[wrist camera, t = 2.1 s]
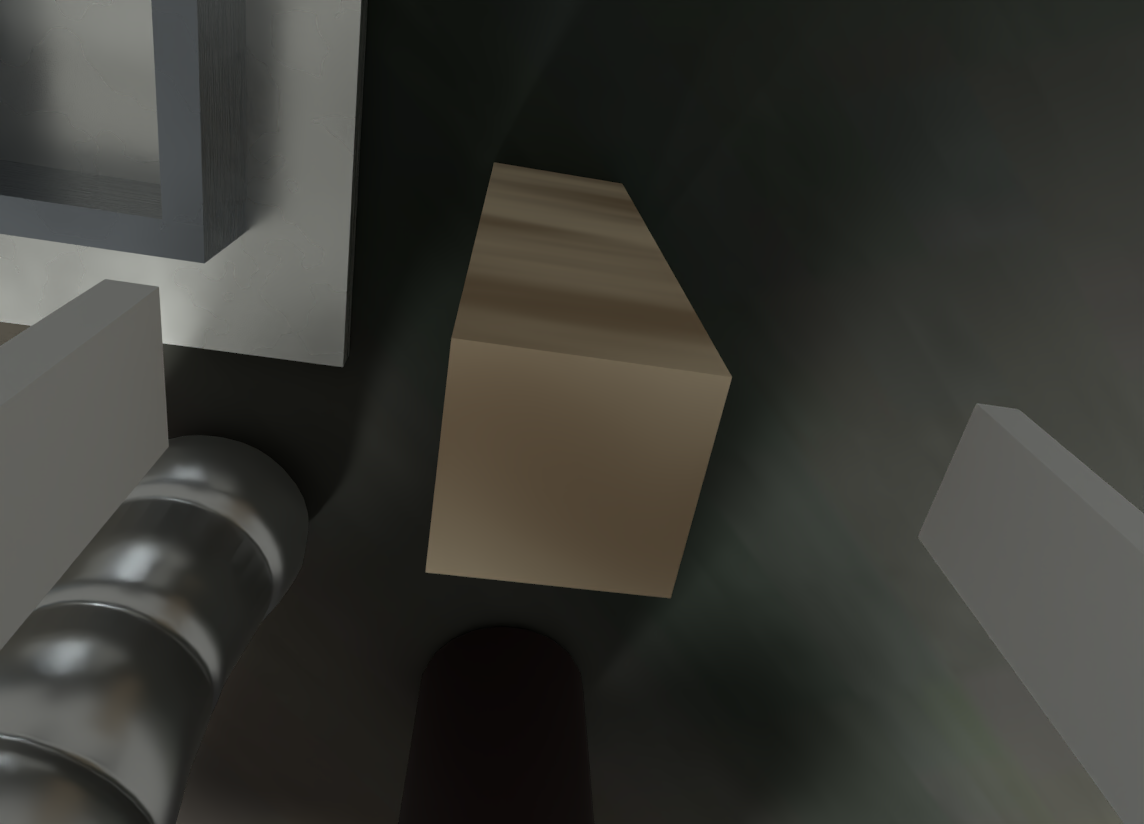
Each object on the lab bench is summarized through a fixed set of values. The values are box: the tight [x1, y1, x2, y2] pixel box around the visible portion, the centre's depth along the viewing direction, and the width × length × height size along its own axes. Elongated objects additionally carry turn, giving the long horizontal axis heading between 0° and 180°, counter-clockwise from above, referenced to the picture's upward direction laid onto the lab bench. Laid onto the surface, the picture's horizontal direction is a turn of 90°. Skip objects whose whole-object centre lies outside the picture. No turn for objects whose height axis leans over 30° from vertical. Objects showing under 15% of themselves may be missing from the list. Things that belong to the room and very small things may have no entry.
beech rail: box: [425, 162, 732, 598], centre depth 19 cm, size 4×4×15 cm
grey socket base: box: [0, 0, 368, 367], centre depth 21 cm, size 16×14×4 cm
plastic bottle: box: [0, 435, 309, 824], centre depth 20 cm, size 6×7×20 cm
